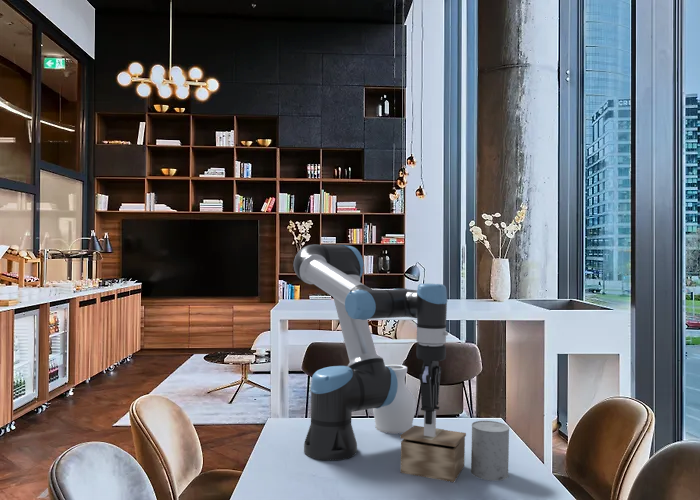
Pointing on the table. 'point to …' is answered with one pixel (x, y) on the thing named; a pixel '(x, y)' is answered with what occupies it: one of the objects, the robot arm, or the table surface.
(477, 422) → the grey cylinder
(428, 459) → the box
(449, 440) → the lid
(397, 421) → the vase
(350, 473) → the table surface
